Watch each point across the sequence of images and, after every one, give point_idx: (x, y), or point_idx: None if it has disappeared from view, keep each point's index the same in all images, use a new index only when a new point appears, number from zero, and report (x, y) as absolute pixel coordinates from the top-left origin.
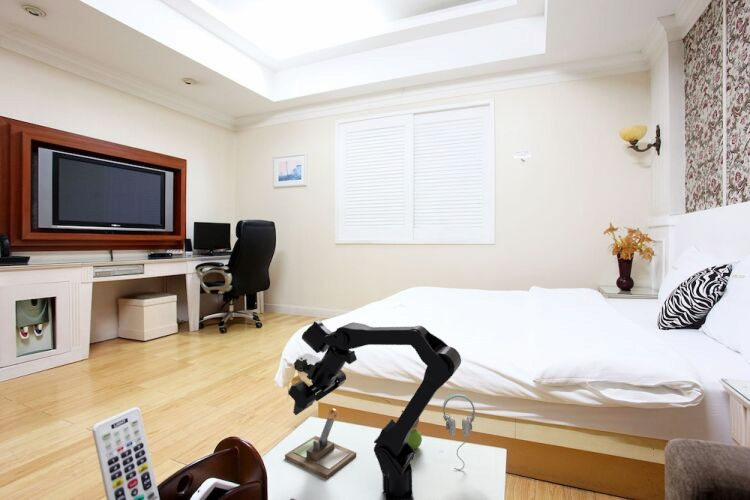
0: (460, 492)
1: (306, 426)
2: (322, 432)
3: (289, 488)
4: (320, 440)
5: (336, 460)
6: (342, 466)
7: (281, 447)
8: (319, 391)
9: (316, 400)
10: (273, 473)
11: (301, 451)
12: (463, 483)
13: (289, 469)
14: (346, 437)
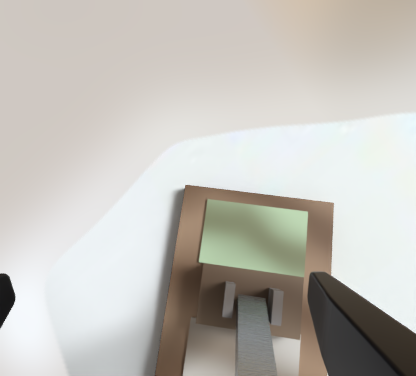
0: None
1: (377, 122)
2: (238, 344)
3: (70, 305)
4: (237, 318)
5: None
6: None
7: (229, 136)
8: (363, 365)
9: (308, 296)
10: (110, 209)
11: (222, 225)
12: None
13: (145, 241)
14: (406, 309)
